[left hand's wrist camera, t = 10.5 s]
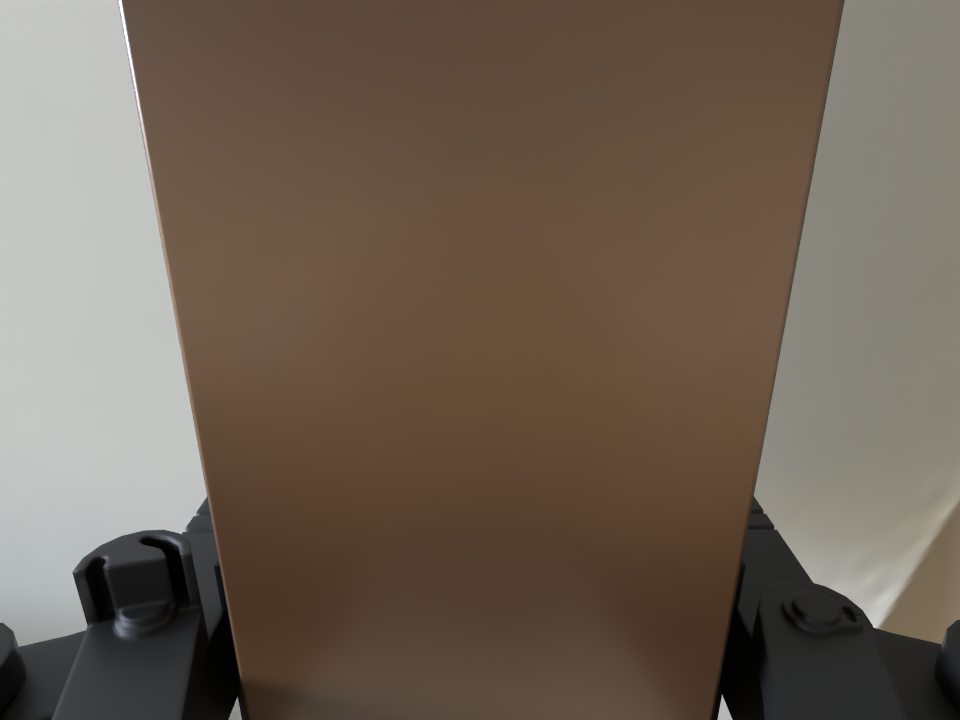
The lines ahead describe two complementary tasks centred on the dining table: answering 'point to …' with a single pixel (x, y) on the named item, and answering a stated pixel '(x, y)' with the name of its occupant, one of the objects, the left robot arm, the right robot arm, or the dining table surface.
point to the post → (480, 333)
